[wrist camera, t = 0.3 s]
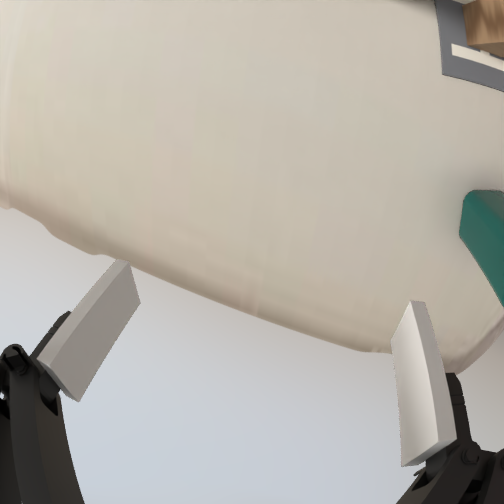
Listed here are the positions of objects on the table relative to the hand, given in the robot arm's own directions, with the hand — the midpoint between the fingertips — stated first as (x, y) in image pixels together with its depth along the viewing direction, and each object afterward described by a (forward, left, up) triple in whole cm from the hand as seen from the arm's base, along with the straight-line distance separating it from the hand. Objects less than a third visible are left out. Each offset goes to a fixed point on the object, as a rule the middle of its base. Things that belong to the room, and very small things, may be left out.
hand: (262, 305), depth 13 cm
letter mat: (-20, +26, -27) cm, 42 cm away
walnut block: (-20, +26, -27) cm, 42 cm away
